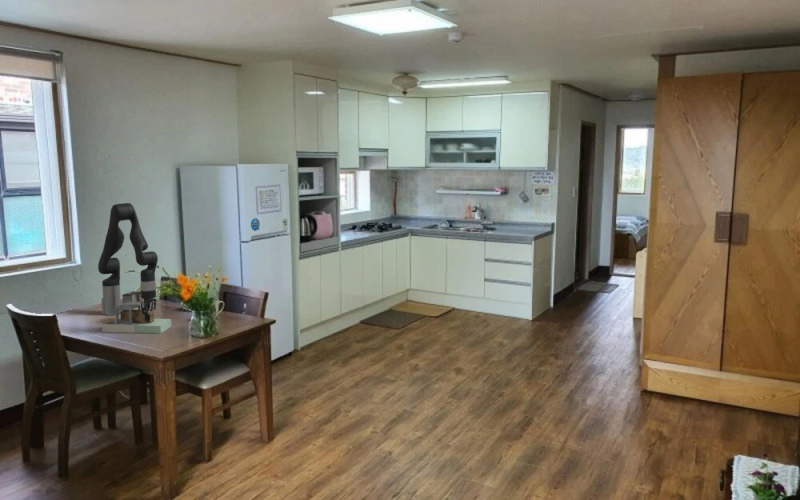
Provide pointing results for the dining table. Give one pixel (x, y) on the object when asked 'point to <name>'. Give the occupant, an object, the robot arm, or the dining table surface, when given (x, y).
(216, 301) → the mug
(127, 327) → the tunnel deck
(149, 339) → the dining table surface
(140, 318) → the walnut bar
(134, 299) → the coffee box
